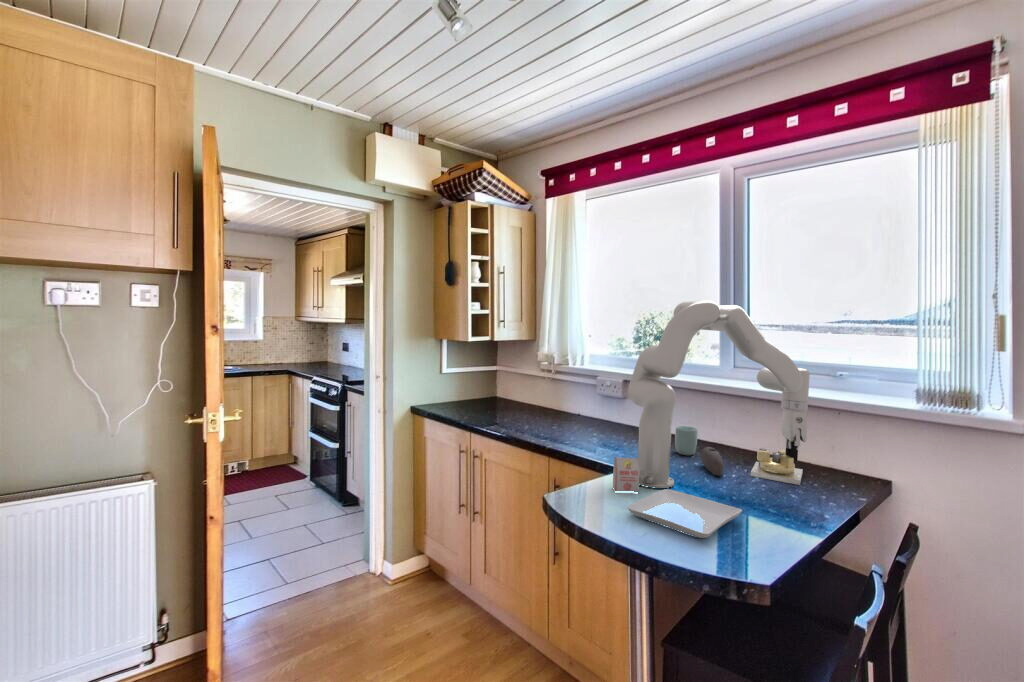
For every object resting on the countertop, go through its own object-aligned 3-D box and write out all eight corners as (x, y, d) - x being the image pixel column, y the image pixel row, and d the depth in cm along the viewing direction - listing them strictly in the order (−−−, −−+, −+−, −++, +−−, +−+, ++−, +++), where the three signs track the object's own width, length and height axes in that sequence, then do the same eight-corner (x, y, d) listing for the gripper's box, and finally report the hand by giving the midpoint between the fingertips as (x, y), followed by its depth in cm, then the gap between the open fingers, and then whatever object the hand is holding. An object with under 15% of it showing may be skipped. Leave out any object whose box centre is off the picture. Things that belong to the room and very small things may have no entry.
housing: (800, 485, 151) (801, 463, 151) (750, 475, 159) (751, 454, 159) (802, 473, 163) (803, 453, 163) (756, 465, 171) (757, 446, 170)
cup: (699, 457, 179) (700, 430, 179) (678, 456, 179) (679, 430, 179) (692, 451, 187) (693, 426, 186) (671, 451, 187) (673, 425, 187)
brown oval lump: (727, 479, 155) (728, 458, 155) (710, 478, 156) (711, 457, 155) (715, 465, 170) (716, 446, 169) (699, 464, 170) (700, 445, 170)
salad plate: (624, 518, 123) (624, 505, 123) (665, 498, 138) (666, 486, 137) (706, 549, 108) (707, 533, 107) (743, 522, 123) (743, 509, 122)
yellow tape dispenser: (800, 476, 154) (801, 459, 154) (763, 473, 156) (764, 456, 156) (787, 465, 165) (788, 449, 165) (752, 463, 167) (753, 447, 167)
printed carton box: (612, 489, 143) (613, 455, 143) (635, 489, 143) (636, 456, 142) (614, 493, 139) (616, 459, 139) (638, 494, 139) (639, 460, 139)
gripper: (816, 410, 152) (812, 468, 153) (798, 402, 166) (795, 455, 167) (789, 408, 153) (786, 465, 154) (774, 400, 168) (771, 453, 169)
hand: (791, 460), depth 161 cm, fingers closed
